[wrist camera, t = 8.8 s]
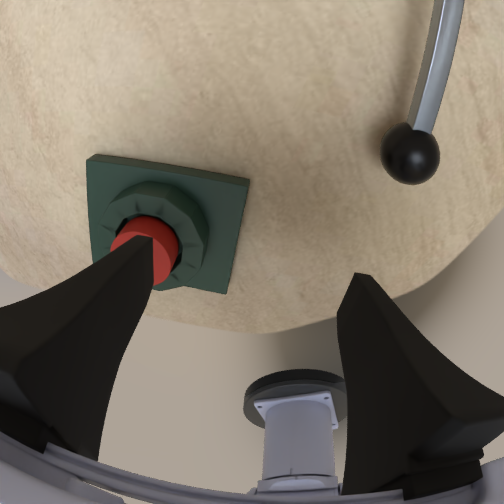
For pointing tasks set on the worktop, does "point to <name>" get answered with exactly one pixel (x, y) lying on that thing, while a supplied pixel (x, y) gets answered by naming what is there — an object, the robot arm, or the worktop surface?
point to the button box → (169, 214)
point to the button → (162, 243)
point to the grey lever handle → (424, 102)
